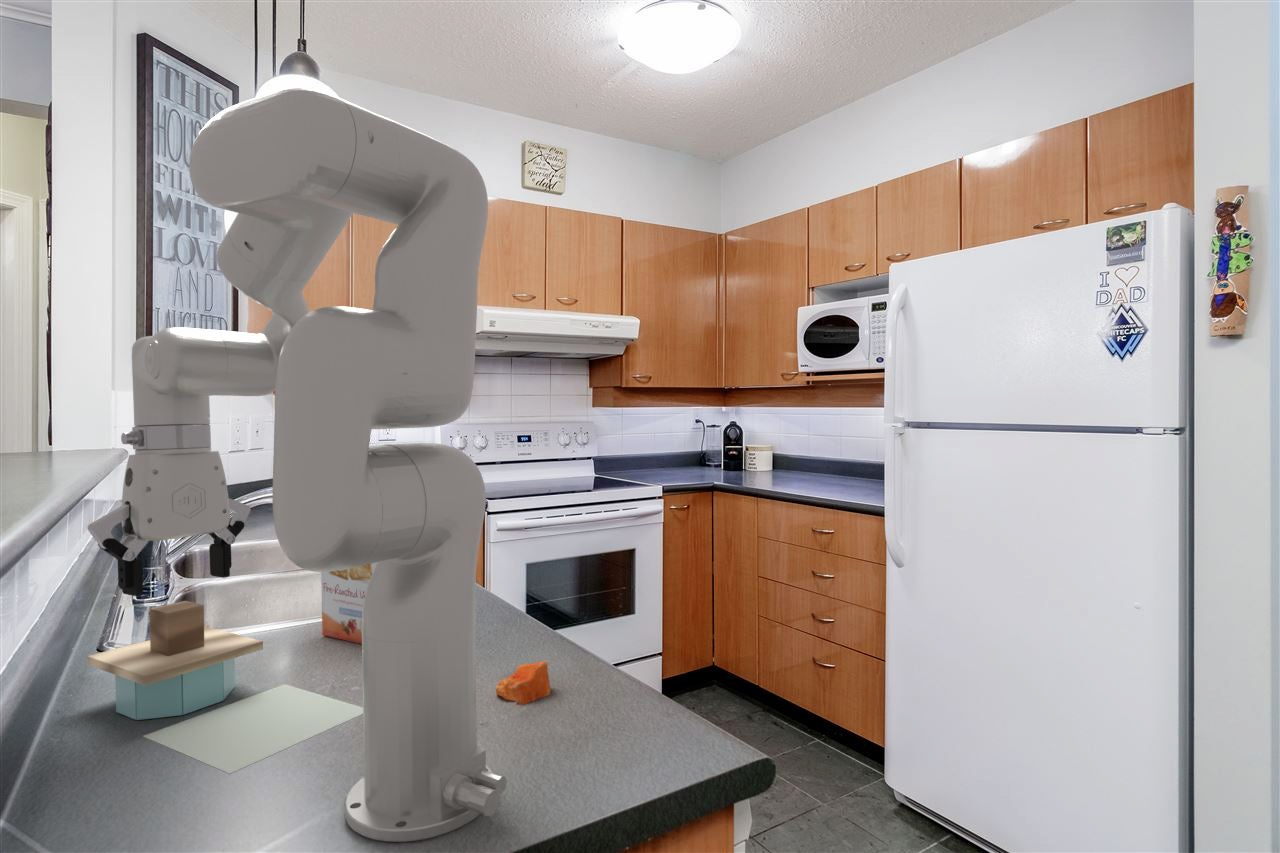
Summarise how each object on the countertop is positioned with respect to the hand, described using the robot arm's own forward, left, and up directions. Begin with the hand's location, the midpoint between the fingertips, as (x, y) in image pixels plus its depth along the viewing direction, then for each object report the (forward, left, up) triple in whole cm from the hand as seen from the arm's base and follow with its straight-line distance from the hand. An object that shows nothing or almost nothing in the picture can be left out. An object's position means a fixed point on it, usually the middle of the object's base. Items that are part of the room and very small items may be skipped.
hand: (178, 584), depth 82 cm
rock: (-34, -22, -15) cm, 43 cm away
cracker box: (+1, -27, -14) cm, 31 cm away
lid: (+1, 0, -9) cm, 9 cm away
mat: (-14, -1, -14) cm, 20 cm away
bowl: (+1, 0, -14) cm, 14 cm away
